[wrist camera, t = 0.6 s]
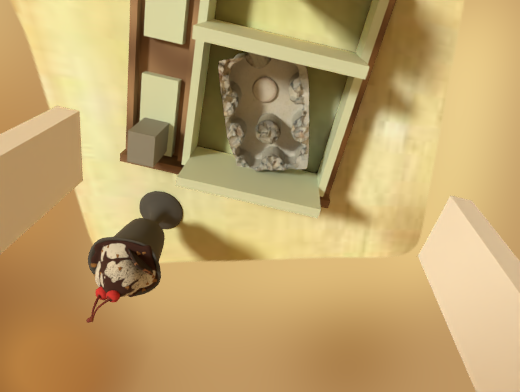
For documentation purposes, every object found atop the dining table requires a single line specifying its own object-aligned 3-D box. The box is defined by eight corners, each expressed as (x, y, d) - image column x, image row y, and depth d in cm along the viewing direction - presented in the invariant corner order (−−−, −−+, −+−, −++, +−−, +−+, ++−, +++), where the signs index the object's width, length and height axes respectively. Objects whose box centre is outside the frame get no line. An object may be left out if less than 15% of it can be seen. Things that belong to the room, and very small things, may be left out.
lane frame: (139, -101, 28) (126, -109, 26) (405, -37, 29) (414, -39, 27) (129, 151, 39) (120, 160, 37) (326, 196, 39) (327, 208, 37)
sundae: (135, 232, 44) (66, 333, 31) (129, 181, 40) (49, 270, 27) (190, 237, 43) (144, 343, 30) (188, 187, 40) (135, 280, 27)
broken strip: (152, -59, 29) (127, -69, 25) (194, -49, 30) (176, -57, 25) (141, 145, 38) (121, 165, 34) (174, 153, 38) (158, 173, 34)
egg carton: (223, 49, 33) (213, 56, 29) (307, 44, 32) (308, 50, 29) (234, 160, 38) (228, 177, 34) (308, 158, 37) (309, 175, 33)
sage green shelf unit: (221, -105, 28) (173, -167, 17) (401, -62, 28) (463, -95, 17) (189, 152, 38) (147, 213, 27) (321, 183, 38) (330, 254, 28)
